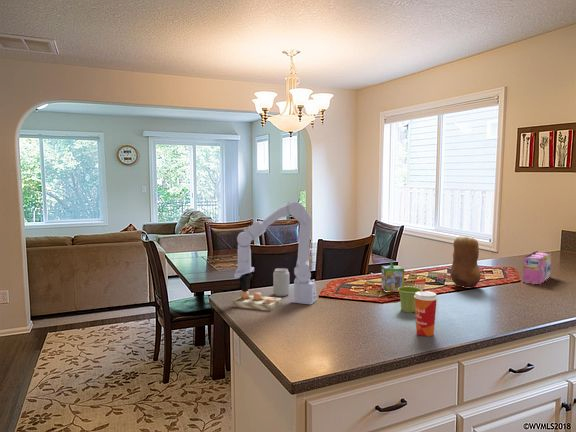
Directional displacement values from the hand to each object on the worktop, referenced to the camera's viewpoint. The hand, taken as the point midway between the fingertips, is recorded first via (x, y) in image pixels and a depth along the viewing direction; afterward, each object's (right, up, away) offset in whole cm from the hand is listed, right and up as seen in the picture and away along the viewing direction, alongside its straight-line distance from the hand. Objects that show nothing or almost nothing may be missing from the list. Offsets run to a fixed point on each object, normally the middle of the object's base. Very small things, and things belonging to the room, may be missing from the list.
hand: (244, 291), depth 182 cm
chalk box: (+69, -4, +20) cm, 71 cm away
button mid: (+6, -3, -2) cm, 7 cm away
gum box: (+149, -1, +39) cm, 154 cm away
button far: (0, -3, 0) cm, 3 cm away
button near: (+11, -6, -4) cm, 13 cm away
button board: (+6, -6, -2) cm, 8 cm away
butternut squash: (+105, -3, +25) cm, 108 cm away
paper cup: (+66, -8, -37) cm, 76 cm away
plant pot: (+68, -6, -11) cm, 69 cm away
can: (+16, -4, +15) cm, 22 cm away
